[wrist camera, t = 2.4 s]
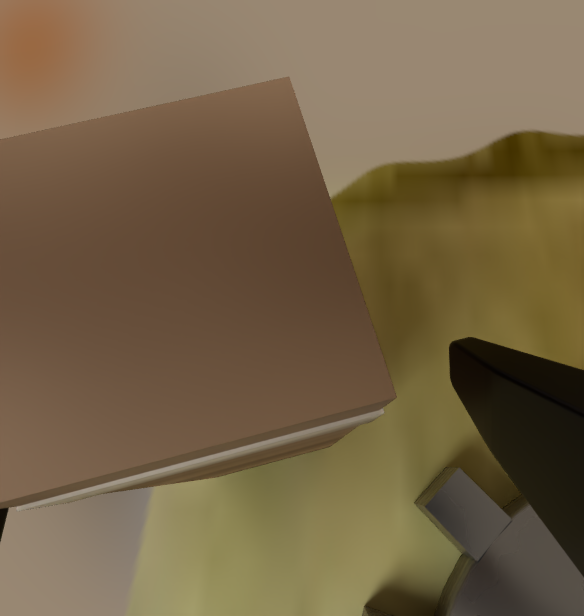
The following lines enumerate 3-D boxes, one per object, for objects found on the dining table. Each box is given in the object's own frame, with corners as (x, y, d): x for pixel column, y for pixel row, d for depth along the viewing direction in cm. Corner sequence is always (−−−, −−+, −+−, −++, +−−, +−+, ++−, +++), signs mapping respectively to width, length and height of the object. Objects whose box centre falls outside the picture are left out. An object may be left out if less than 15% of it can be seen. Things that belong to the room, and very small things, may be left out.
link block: (331, 447, 17) (403, 400, 4) (214, 479, 16) (-57, 524, 4) (301, 336, 18) (292, 72, 6) (194, 363, 18) (-47, 146, 6)
